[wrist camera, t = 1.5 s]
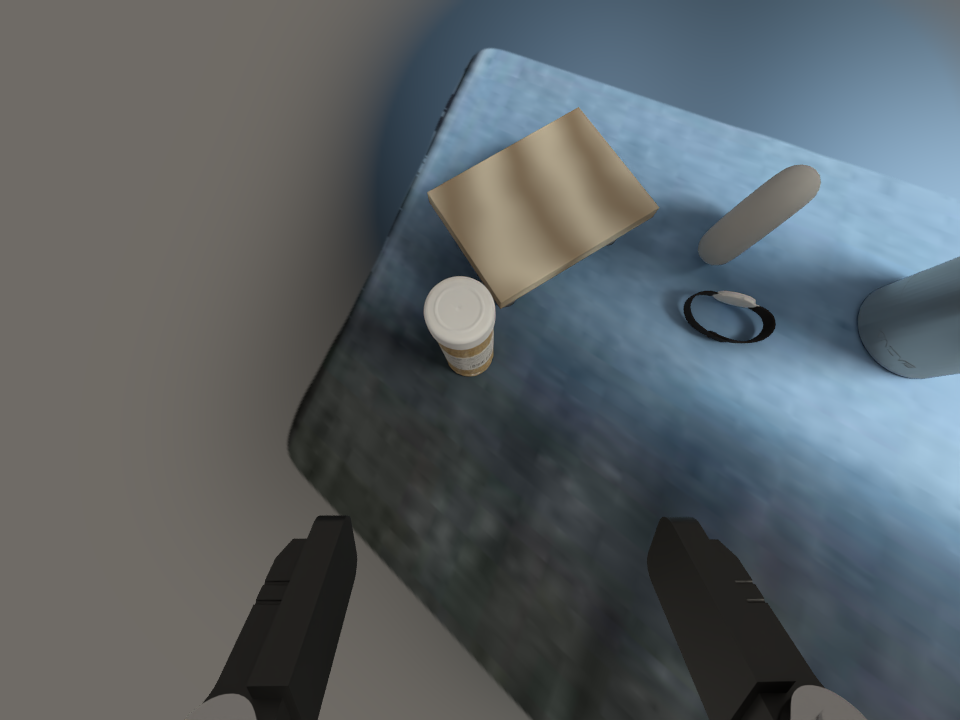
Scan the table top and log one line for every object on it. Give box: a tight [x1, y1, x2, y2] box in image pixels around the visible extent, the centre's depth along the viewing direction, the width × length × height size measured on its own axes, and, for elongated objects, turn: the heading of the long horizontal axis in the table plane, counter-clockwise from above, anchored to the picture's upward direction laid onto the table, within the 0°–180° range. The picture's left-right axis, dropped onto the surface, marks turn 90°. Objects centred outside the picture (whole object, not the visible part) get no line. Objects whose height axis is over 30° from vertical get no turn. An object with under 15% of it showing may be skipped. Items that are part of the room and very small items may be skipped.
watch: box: [684, 291, 776, 343], centre depth 37 cm, size 8×5×4 cm, turn 70°
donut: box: [698, 165, 821, 265], centre depth 35 cm, size 10×4×10 cm, turn 127°
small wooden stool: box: [427, 107, 659, 309], centre depth 37 cm, size 16×12×6 cm
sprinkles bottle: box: [424, 276, 495, 376], centre depth 32 cm, size 5×5×13 cm
